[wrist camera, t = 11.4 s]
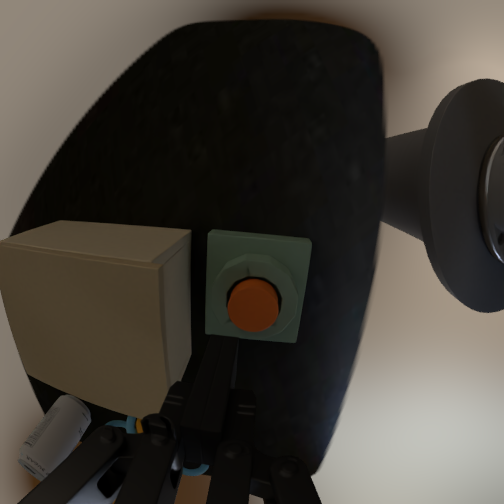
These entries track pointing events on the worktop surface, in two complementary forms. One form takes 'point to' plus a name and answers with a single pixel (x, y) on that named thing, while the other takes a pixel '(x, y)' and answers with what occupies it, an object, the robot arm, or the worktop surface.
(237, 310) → the button
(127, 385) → the beige board
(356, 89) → the worktop surface
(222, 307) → the control block
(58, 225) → the beige square box
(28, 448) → the energy drink can
